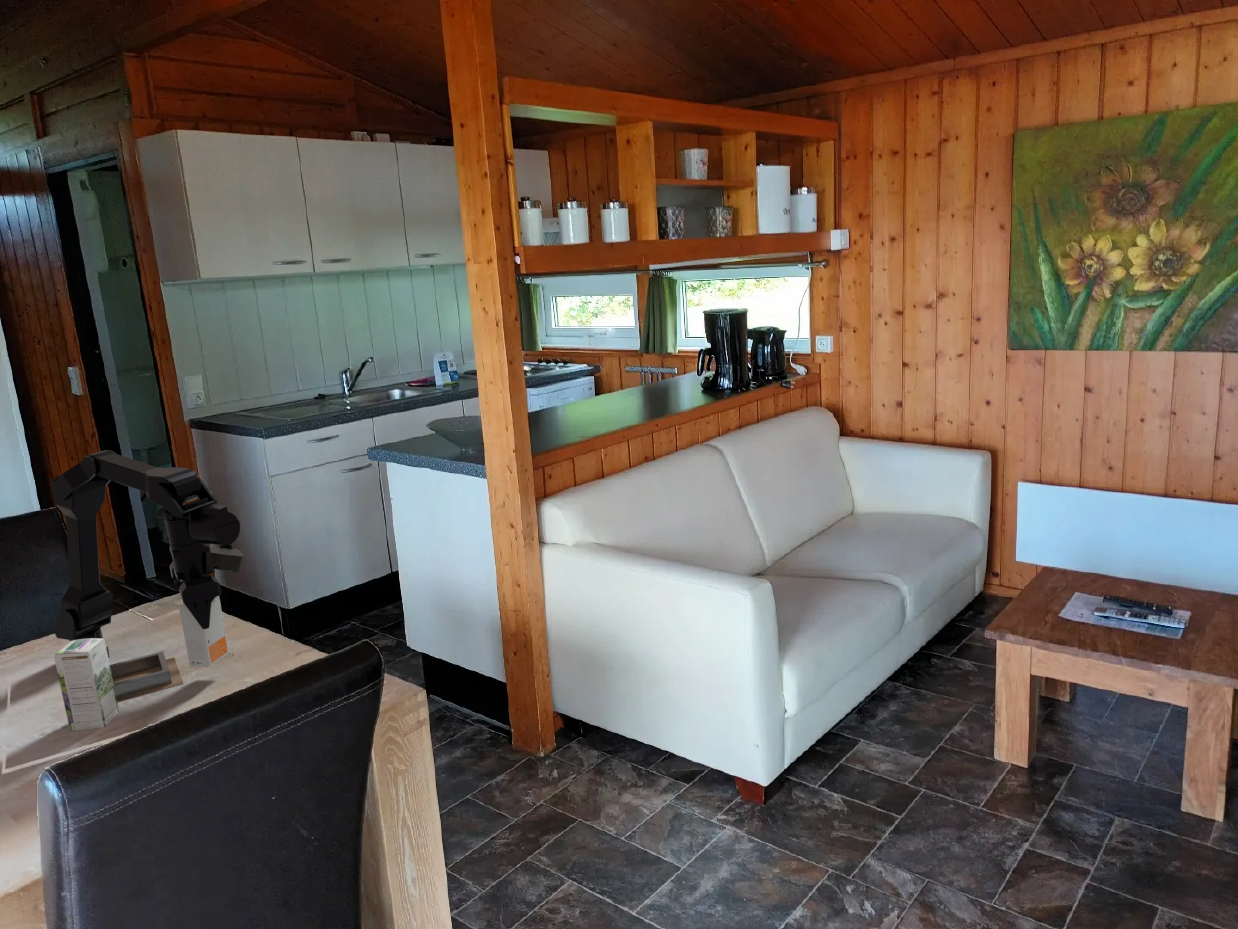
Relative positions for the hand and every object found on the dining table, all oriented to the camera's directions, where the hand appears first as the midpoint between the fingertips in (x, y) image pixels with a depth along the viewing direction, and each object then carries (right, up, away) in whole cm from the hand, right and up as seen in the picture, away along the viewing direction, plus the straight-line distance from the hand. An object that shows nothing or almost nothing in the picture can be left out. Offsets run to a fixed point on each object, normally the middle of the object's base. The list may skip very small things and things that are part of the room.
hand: (203, 622), depth 167 cm
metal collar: (-14, -12, +3) cm, 18 cm away
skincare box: (+1, -7, +2) cm, 8 cm away
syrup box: (-14, -16, -10) cm, 23 cm away
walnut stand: (-14, -12, +4) cm, 19 cm away
